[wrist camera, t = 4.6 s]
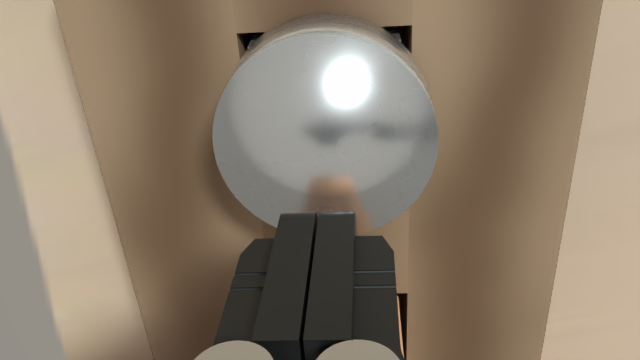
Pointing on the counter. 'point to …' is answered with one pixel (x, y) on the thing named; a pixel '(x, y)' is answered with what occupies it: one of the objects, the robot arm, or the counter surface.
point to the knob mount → (401, 233)
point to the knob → (326, 122)
